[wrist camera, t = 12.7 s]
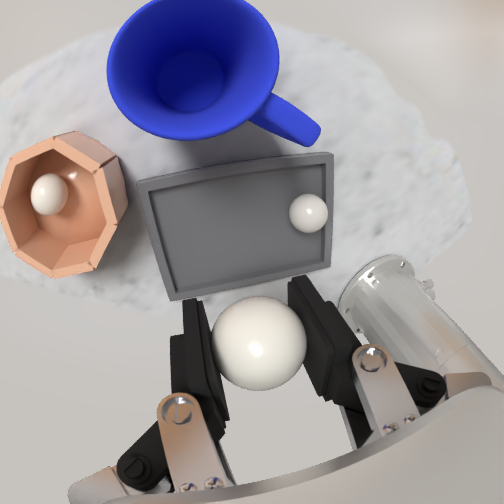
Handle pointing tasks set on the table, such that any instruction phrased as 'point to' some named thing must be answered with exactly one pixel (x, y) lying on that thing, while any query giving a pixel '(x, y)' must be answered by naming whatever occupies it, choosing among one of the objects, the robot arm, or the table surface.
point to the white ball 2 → (258, 343)
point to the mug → (201, 72)
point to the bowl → (75, 210)
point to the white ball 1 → (49, 194)
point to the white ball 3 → (308, 213)
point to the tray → (236, 222)
